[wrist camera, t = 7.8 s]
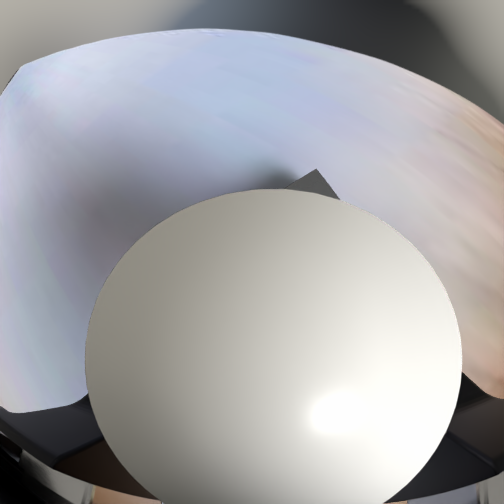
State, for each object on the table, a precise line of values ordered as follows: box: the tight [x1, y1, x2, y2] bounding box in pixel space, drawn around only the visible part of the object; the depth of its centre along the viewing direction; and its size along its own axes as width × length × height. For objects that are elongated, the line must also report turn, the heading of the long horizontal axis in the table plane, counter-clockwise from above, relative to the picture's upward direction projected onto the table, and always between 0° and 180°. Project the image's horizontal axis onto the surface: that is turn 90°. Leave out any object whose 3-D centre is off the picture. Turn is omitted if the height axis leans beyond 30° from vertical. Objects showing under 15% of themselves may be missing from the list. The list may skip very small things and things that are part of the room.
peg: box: [85, 189, 462, 504], centre depth 9 cm, size 4×4×13 cm
